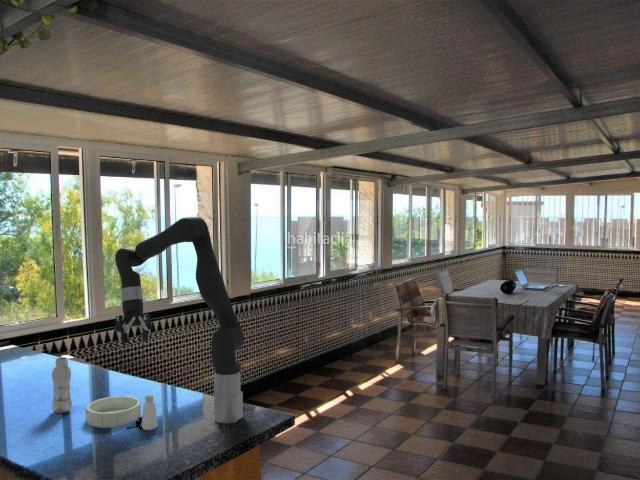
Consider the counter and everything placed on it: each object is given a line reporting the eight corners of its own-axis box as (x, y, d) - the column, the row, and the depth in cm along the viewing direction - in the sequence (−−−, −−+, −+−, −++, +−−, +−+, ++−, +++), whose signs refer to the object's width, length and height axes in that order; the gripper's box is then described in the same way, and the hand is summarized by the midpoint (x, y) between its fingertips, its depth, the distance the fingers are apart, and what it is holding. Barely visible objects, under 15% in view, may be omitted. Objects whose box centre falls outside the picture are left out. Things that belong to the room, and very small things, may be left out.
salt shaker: (161, 425, 185) (161, 394, 184) (150, 431, 180) (149, 398, 180) (149, 423, 187) (148, 392, 187) (137, 428, 182) (137, 396, 182)
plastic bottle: (64, 416, 193) (63, 361, 192) (47, 414, 195) (47, 360, 194) (75, 409, 199) (75, 356, 199) (59, 408, 201) (59, 355, 200)
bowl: (150, 412, 197) (150, 399, 197) (118, 430, 180) (118, 416, 180) (109, 407, 203) (109, 394, 203) (74, 424, 186) (74, 410, 185)
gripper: (121, 298, 196) (125, 343, 193) (154, 297, 208) (157, 339, 205) (109, 301, 200) (112, 345, 197) (141, 300, 212) (145, 341, 209)
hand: (135, 342), depth 201 cm, fingers open, 8 cm apart
